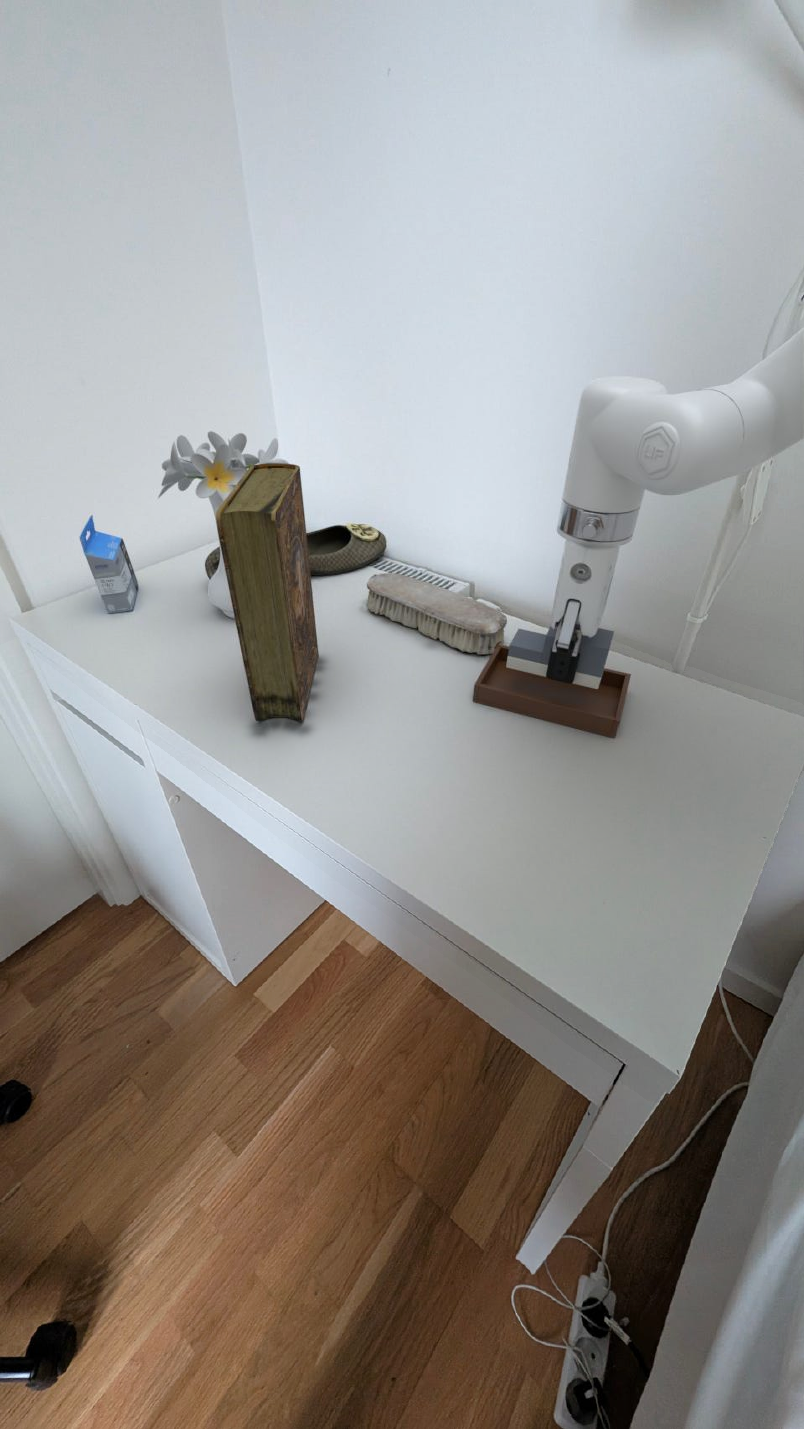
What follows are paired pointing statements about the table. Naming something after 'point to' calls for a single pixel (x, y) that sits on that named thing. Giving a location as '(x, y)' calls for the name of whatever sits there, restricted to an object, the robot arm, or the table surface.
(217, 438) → the flower vase
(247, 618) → the book
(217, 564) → the flat
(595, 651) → the grey stepped block
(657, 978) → the table surface
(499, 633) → the shoe brush
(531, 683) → the tray
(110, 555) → the label tape box
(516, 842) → the table surface
